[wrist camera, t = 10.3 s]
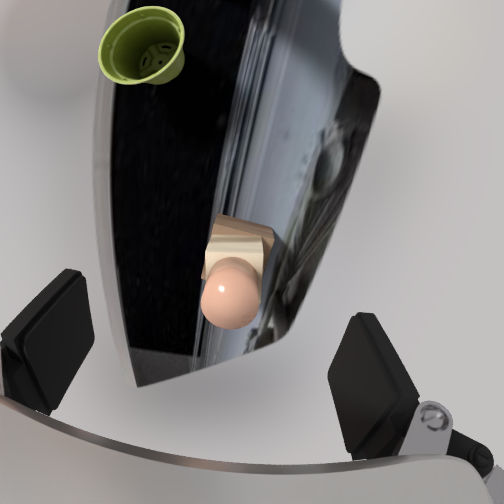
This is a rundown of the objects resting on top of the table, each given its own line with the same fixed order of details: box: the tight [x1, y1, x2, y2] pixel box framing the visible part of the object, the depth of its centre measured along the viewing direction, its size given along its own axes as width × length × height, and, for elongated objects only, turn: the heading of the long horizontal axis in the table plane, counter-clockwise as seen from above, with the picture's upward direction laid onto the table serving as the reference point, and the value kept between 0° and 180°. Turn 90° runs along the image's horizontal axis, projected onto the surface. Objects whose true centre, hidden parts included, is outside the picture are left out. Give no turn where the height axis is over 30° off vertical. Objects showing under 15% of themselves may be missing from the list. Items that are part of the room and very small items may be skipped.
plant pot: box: [98, 6, 185, 85], centre depth 26 cm, size 9×9×9 cm
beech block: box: [205, 235, 263, 304], centre depth 31 cm, size 6×6×6 cm
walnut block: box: [201, 214, 275, 280], centre depth 36 cm, size 7×7×5 cm
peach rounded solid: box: [201, 257, 259, 329], centre depth 26 cm, size 5×5×5 cm
